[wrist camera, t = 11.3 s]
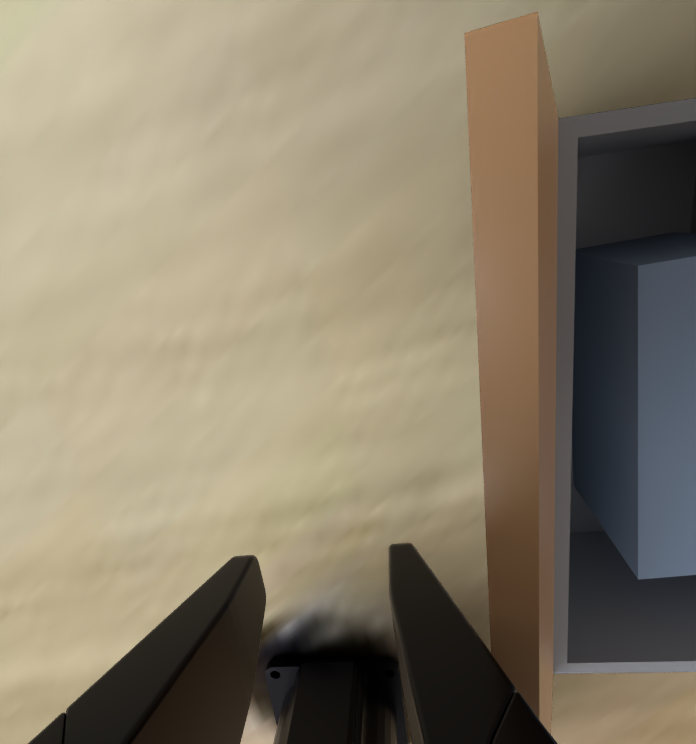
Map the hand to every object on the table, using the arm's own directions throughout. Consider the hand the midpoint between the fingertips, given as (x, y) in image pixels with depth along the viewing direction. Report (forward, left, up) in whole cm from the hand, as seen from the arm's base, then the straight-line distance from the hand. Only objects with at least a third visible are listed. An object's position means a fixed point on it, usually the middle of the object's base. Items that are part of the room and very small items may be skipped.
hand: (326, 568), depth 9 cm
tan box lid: (0, -4, -1) cm, 4 cm away
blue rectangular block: (0, -9, -10) cm, 13 cm away
